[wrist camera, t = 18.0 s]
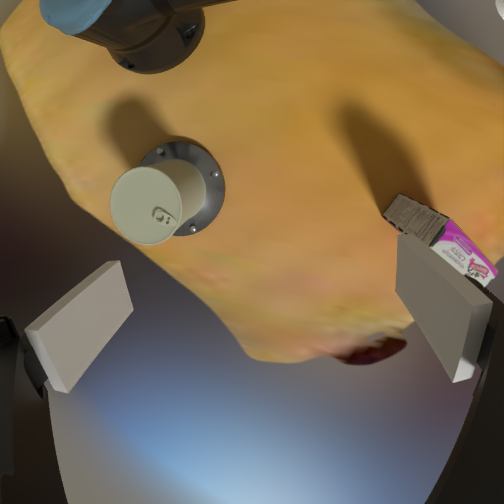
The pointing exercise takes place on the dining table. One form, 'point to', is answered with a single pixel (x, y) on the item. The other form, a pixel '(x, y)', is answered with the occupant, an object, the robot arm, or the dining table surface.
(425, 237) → the candy bar box
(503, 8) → the champagne flute
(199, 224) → the flange plate
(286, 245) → the dining table surface
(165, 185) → the can
